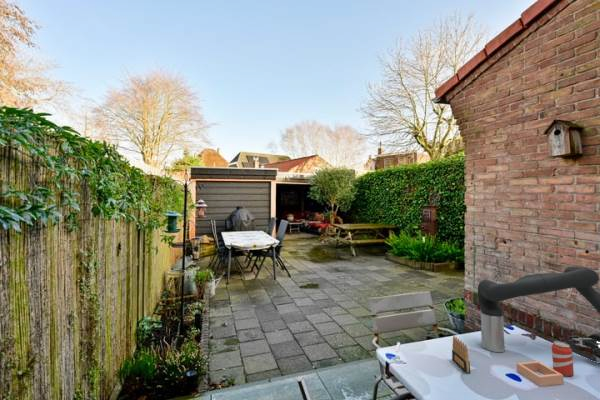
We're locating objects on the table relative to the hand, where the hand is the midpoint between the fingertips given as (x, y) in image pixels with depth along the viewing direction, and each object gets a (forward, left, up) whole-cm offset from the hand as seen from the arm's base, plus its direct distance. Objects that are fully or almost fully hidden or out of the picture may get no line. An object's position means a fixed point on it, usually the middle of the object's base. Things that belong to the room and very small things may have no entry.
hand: (580, 347), depth 121 cm
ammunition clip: (-42, -29, -9) cm, 52 cm away
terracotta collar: (-15, -19, -9) cm, 26 cm away
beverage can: (-7, -9, -9) cm, 14 cm away
